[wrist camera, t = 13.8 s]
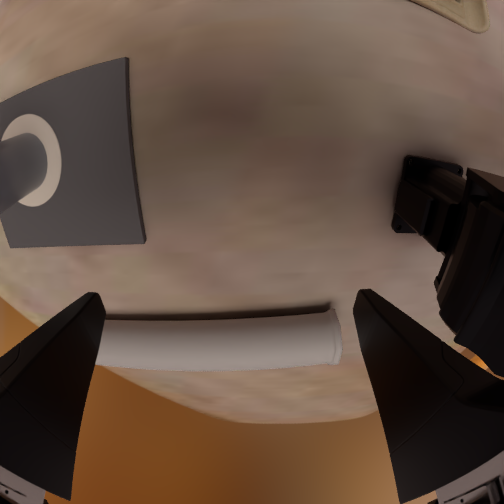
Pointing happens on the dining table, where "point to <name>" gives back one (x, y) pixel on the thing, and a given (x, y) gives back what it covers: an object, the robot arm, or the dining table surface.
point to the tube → (222, 343)
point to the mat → (77, 161)
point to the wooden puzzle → (461, 12)
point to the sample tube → (20, 168)
